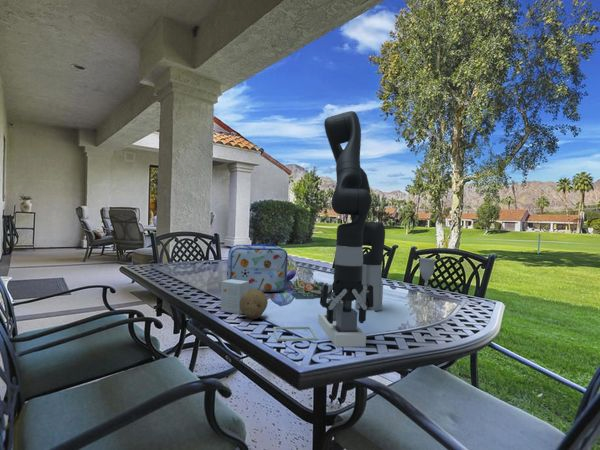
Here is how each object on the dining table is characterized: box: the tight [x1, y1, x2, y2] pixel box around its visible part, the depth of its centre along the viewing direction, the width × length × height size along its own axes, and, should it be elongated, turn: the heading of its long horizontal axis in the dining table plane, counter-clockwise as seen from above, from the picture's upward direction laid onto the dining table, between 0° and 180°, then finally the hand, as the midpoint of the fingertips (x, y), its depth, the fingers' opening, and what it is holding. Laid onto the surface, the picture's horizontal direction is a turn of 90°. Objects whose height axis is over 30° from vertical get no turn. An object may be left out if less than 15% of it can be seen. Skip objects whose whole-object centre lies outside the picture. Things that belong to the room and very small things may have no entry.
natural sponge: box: [240, 289, 269, 320], centre depth 111 cm, size 9×9×10 cm
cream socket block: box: [317, 312, 367, 348], centre depth 98 cm, size 20×8×5 cm, turn 10°
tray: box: [273, 326, 319, 342], centre depth 96 cm, size 11×10×2 cm
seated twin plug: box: [327, 291, 343, 321], centre depth 103 cm, size 4×4×11 cm
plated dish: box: [290, 274, 333, 300], centre depth 159 cm, size 35×28×7 cm
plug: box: [336, 300, 358, 332], centre depth 93 cm, size 4×4×11 cm
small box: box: [220, 279, 249, 315], centre depth 120 cm, size 8×6×10 cm
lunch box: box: [226, 242, 289, 293], centre depth 155 cm, size 28×10×22 cm, turn 107°
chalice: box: [418, 257, 437, 298], centre depth 153 cm, size 7×7×18 cm
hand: (345, 322), depth 93 cm, fingers open, 8 cm apart
